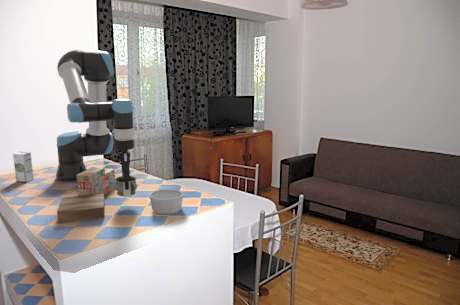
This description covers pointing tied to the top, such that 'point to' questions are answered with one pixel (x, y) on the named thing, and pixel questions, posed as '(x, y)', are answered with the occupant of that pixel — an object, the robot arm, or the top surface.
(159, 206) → the ramekin
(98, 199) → the walnut block
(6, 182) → the top surface
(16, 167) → the syrup box
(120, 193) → the vessel
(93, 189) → the stack of blocks
